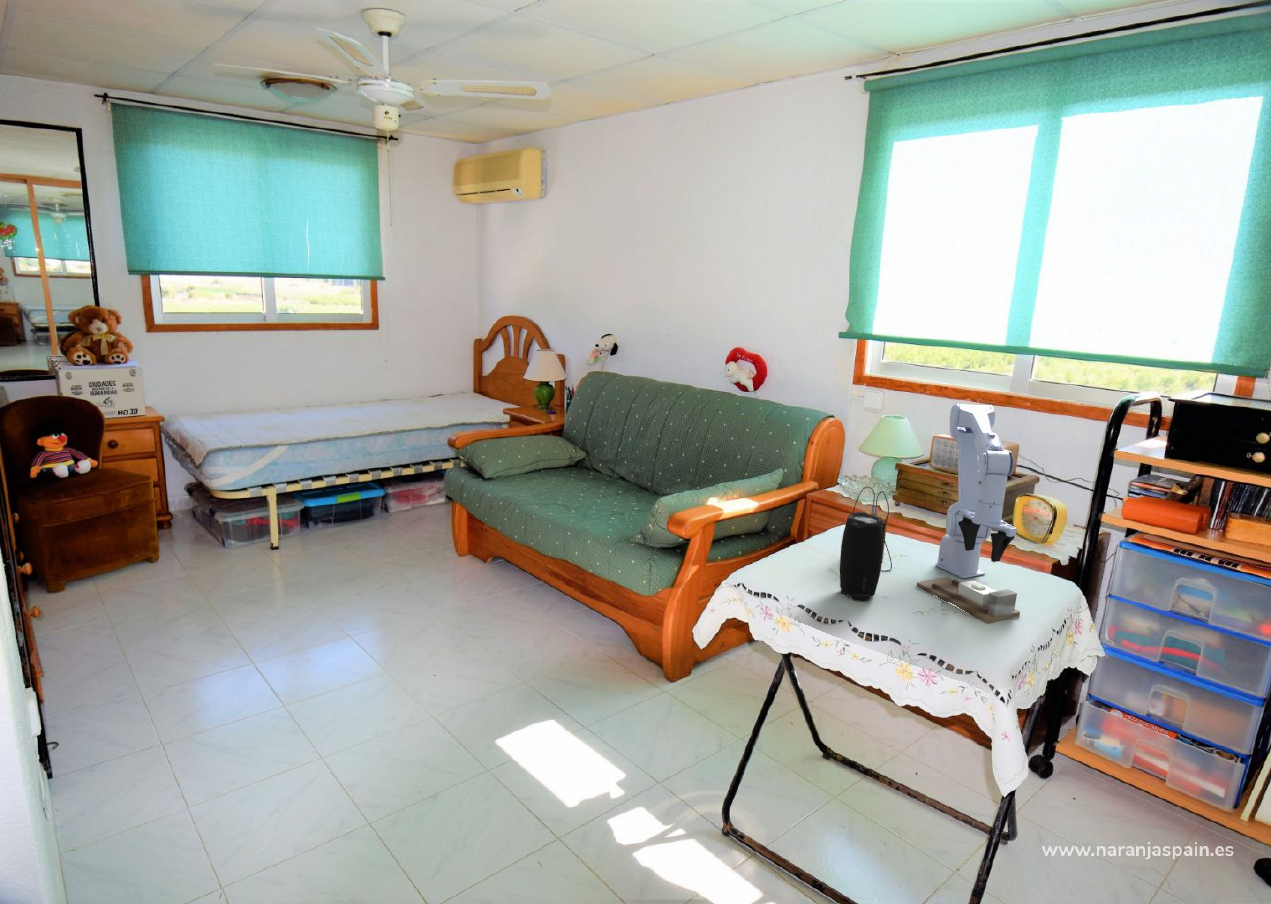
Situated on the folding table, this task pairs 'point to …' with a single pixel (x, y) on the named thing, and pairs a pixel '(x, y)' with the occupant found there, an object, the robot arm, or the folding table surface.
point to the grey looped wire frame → (882, 521)
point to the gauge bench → (997, 603)
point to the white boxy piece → (974, 592)
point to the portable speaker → (861, 555)
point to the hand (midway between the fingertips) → (982, 555)
